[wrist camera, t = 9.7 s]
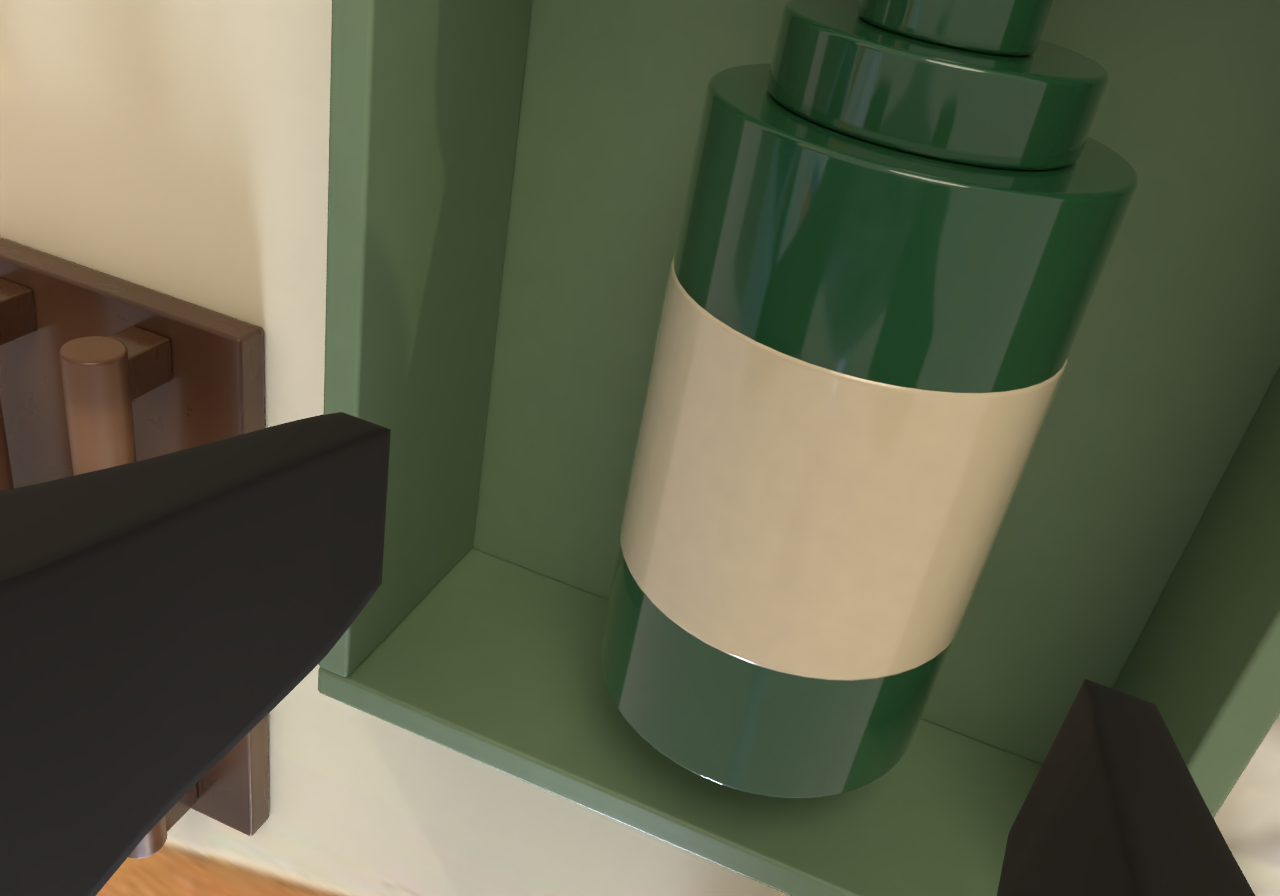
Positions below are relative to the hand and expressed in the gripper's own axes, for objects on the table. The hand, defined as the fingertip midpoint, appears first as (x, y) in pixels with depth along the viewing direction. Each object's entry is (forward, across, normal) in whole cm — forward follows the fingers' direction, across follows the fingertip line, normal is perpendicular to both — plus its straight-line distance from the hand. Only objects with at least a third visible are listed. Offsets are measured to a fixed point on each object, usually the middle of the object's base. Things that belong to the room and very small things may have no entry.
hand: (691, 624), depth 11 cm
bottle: (+8, 0, -2) cm, 8 cm away
